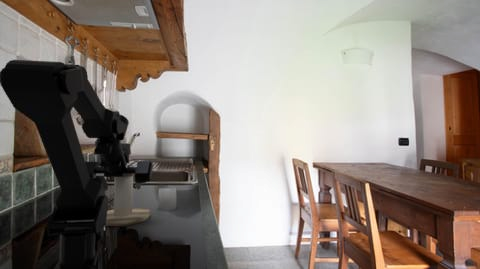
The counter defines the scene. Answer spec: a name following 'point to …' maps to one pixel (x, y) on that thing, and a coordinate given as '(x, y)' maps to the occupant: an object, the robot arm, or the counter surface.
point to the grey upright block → (167, 198)
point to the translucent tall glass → (123, 195)
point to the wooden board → (128, 217)
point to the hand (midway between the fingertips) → (123, 188)
